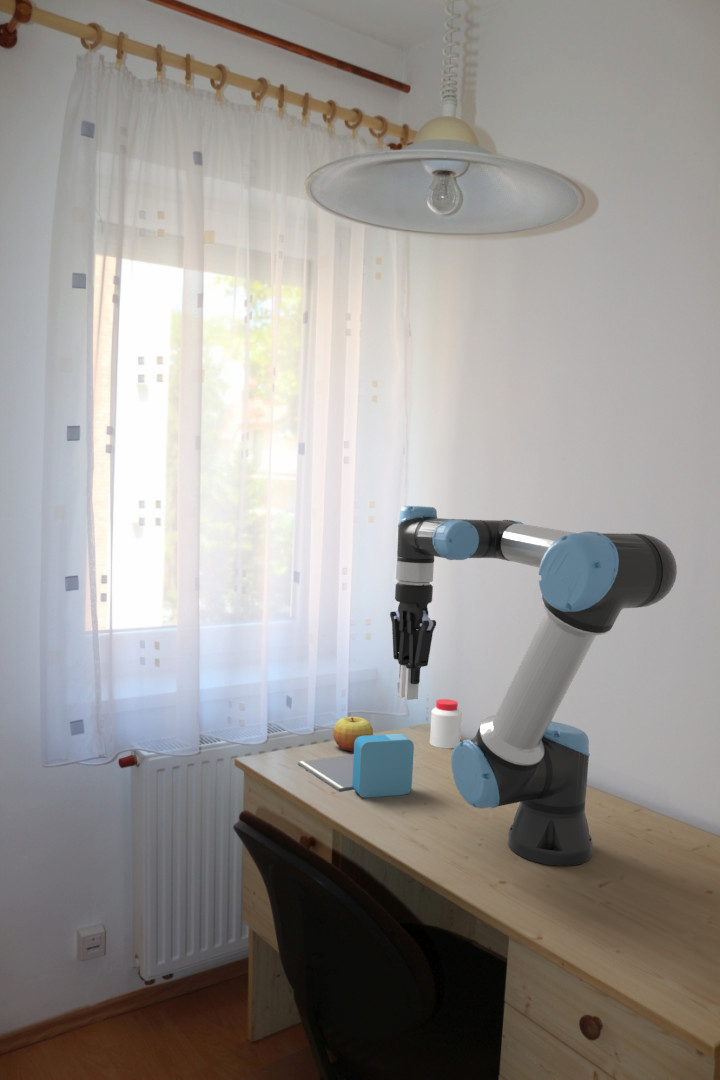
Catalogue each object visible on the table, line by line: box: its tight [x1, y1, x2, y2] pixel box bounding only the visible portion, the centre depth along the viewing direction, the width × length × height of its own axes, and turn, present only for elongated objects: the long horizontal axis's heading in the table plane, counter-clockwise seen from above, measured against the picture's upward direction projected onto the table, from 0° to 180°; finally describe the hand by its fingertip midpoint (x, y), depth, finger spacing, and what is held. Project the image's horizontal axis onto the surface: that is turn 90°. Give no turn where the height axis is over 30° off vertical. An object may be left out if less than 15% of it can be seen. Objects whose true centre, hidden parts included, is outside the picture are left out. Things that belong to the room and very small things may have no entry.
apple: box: [332, 716, 374, 752], centre depth 213 cm, size 10×10×8 cm
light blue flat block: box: [352, 733, 415, 799], centre depth 183 cm, size 12×4×12 cm, turn 109°
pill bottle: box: [429, 698, 462, 750], centre depth 220 cm, size 8×8×11 cm
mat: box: [297, 753, 354, 792], centre depth 196 cm, size 19×18×1 cm
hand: (408, 697), depth 175 cm, fingers closed
